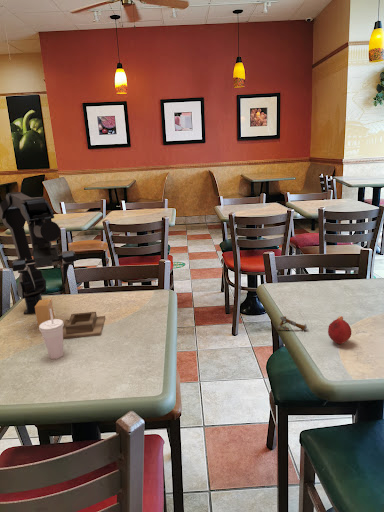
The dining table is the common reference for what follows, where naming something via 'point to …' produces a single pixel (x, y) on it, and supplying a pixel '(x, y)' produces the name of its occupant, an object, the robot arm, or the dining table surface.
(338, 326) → the onion
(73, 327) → the chassis
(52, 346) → the smoothie
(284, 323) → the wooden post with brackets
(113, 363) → the dining table surface
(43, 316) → the tan rectangular block
